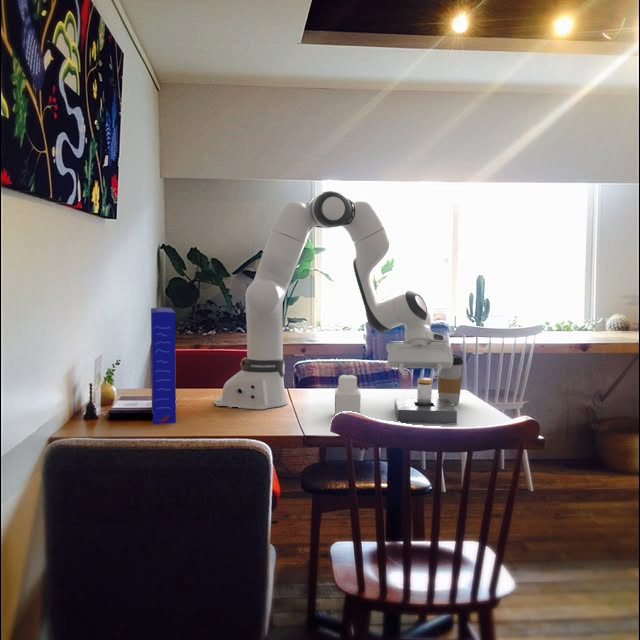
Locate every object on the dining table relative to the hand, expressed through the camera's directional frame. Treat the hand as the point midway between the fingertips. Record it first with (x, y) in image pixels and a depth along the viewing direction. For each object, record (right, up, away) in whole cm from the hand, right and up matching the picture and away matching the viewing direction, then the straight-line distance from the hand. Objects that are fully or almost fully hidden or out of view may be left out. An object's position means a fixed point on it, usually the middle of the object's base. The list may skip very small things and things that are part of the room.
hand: (421, 377), depth 185 cm
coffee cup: (+10, -9, +9) cm, 16 cm away
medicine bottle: (-23, -10, -11) cm, 27 cm away
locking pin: (-1, -10, -11) cm, 15 cm away
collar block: (-1, -10, -11) cm, 15 cm away
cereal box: (-76, -10, -12) cm, 77 cm away
